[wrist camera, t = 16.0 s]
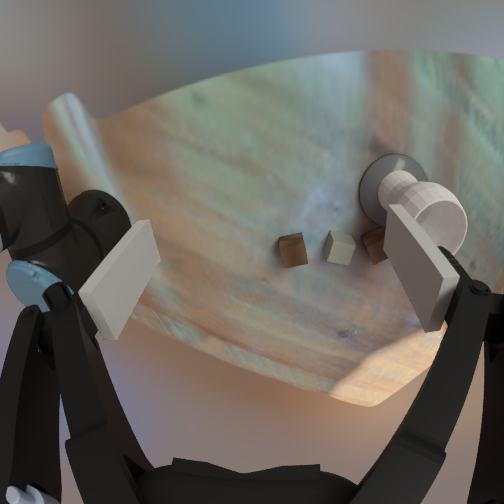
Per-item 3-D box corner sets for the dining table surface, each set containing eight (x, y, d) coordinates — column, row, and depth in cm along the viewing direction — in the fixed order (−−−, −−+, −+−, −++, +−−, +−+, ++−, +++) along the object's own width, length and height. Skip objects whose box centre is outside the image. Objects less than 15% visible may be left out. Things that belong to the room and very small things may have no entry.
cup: (427, 162, 41) (476, 194, 28) (422, 219, 46) (461, 265, 33) (370, 161, 42) (407, 195, 29) (368, 222, 48) (398, 272, 35)
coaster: (357, 226, 49) (358, 228, 48) (359, 153, 42) (360, 154, 42) (421, 224, 48) (423, 225, 47) (429, 155, 41) (431, 156, 40)
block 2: (323, 249, 52) (326, 261, 49) (330, 230, 50) (333, 241, 47) (344, 253, 52) (348, 265, 49) (351, 234, 50) (356, 245, 47)
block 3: (368, 252, 52) (373, 265, 48) (360, 236, 50) (366, 247, 47) (386, 244, 50) (393, 255, 47) (380, 226, 49) (387, 237, 45)
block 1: (284, 255, 53) (284, 268, 50) (279, 236, 52) (279, 248, 48) (306, 251, 53) (308, 263, 49) (301, 232, 51) (303, 243, 47)
